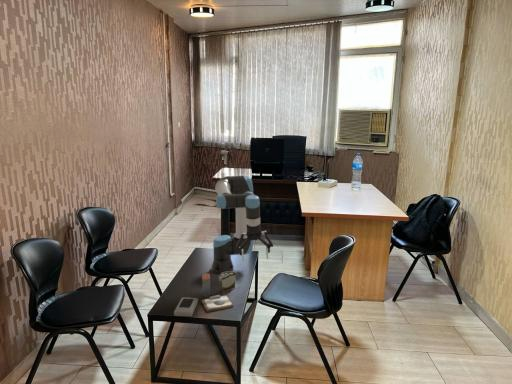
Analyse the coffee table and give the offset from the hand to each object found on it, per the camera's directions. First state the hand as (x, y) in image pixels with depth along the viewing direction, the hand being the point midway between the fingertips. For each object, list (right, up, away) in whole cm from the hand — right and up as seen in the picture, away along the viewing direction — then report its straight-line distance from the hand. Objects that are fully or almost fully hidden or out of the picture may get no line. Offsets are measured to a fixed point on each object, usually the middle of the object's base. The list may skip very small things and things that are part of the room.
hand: (255, 258), depth 201 cm
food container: (-18, -22, +21) cm, 35 cm away
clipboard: (-21, -26, +2) cm, 34 cm away
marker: (-29, -24, +12) cm, 39 cm away
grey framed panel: (-38, -28, -2) cm, 47 cm away
